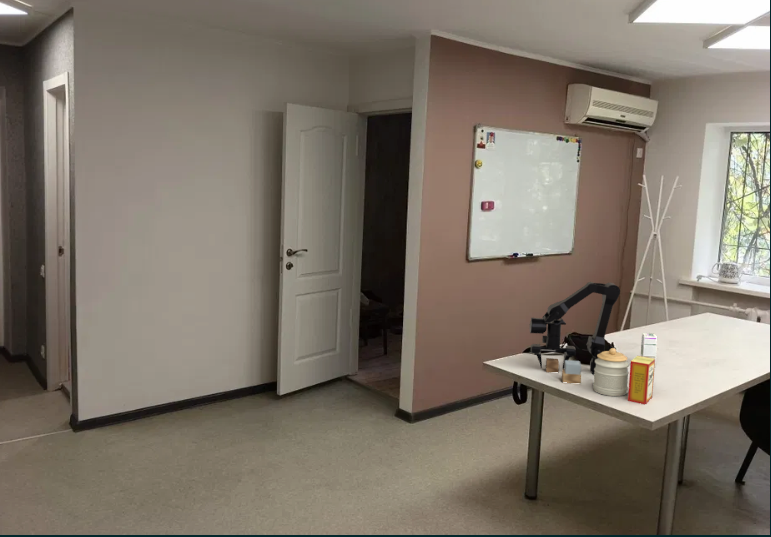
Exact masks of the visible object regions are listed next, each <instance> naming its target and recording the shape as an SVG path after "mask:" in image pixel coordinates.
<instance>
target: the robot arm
mask: <svg viewBox="0 0 771 537" xmlns="http://www.w3.org/2000/svg"><path fill="white" fill-rule="evenodd" d="M593 293H594V294H599V295H601V297H602V303H601V308H600V311H599V315H598V318H597V322H596V325H595V330H594V333H593V334H592V336H590V335H588V339H587V342H586V344H585V345H586V346H587V351H588V352H589V353H590V354H591V355H592V357H591V360H590V363H589V371H590V372H591V374H592V375H594V372H595V370H594V368H595V367H596V363H595V360H596V359H597V358H598V357H597V355H598V354H600V353H601V352H604V351H606V350H605V348H606V342H605V341H606V340H605V337H606V333H607V329H608V325H609V322H610V318H611V314H612V310H613V308H614V305H615V303H616V302H617V301H618V298H619V296H620V294H621V289H620V287H619V286H618V285H616V284H615V283H614V282H607V283H601V282H593V281H590V282H586V284H585V285H584V286H582V287H580V288H579V289H578V290H576V291H574V293H572V294H570V295H569V296H567V297H565V299H562V300H559V301H556V302H555V303H553V304H550V305H549V306H548V307H547V311H546V312H545V313H544V315H543V316H542V317H539V318H538V317H530V322H529V328H528V329H529V333H530V334H539V335H541V334H542V338H541V340H542V341H541V343H542V344H545V346H541V344H540V343H532V344H531V345H530V353H532V354H533V355H534V356H536V357H537V359H538V362H539V365H540V366H539V367H540V369H542V368H543V361H542V360H543V359H542V352H555V353H563V361H562V368H561V369H564V363H565V360H569V361H570V358H573V356H576V355H577V350H576V347H575V346H574V345H565V347H561V333H562V325H564V326H565V325H567V323H566V321H564V318H563V317H564V316H565V315H566V314H567V313H568V311H569V310H570V309H571V308H572V307H574V306H575V305H577V304H578V303H579V302H581V301H582V300H584V299H586V298H587V297H588V296H590V295H591V294H593ZM544 333H546V335H543V334H544Z"/></svg>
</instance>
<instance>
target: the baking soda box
mask: <svg viewBox="0 0 771 537" xmlns="http://www.w3.org/2000/svg"><path fill="white" fill-rule="evenodd" d="M655 368H656V367H655V359H654V358H648V357H643V356H641V355H637V356H635V357H634V358H633V359H632V360H630V363H629V376H628V391H627V401H628V402H631V403H636V404H640V403H641V405H645V404H646V405H647V404H648V403H649V402H650V401H651V400H650V399H652V398H653V393H654V392H653V391H654V381H655V380H654V379H655ZM649 400H650V401H649Z"/></svg>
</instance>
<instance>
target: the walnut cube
mask: <svg viewBox="0 0 771 537" xmlns="http://www.w3.org/2000/svg"><path fill="white" fill-rule="evenodd" d="M545 359H546V360H545V372H546V373H549V372H558V373H559V367H560V365H559V364H560V361H559V359H558V358H553V357H552V358H550V357H546V358H545Z"/></svg>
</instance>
